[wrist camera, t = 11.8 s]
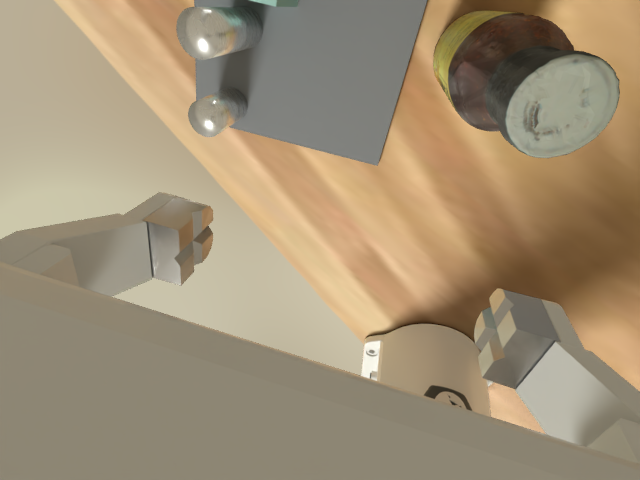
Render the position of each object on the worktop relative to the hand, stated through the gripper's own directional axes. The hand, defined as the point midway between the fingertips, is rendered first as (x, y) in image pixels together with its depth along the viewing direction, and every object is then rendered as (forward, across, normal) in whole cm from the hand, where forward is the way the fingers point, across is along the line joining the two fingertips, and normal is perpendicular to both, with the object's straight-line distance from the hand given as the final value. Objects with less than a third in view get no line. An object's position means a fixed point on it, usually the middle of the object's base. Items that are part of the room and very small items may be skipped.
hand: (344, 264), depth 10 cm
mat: (+28, +10, -4) cm, 29 cm away
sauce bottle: (+28, -5, -5) cm, 29 cm away
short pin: (+27, +16, +4) cm, 31 cm away
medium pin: (+27, +14, -3) cm, 31 cm away
